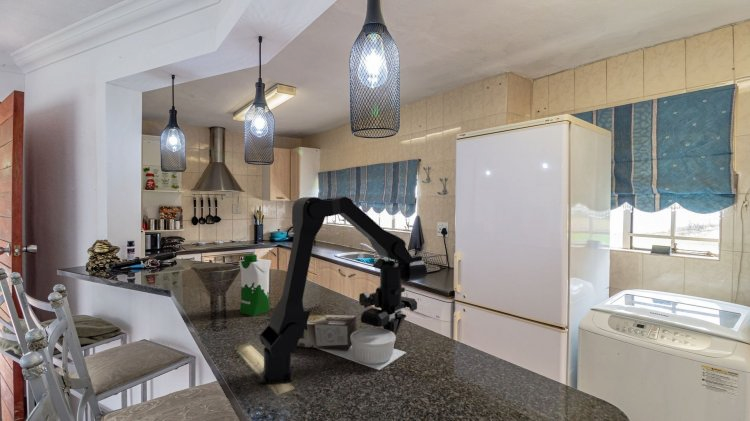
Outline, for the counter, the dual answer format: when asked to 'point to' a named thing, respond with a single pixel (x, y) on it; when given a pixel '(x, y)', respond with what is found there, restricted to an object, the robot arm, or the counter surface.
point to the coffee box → (328, 332)
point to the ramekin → (373, 345)
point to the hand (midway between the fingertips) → (390, 342)
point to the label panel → (349, 355)
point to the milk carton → (254, 285)
